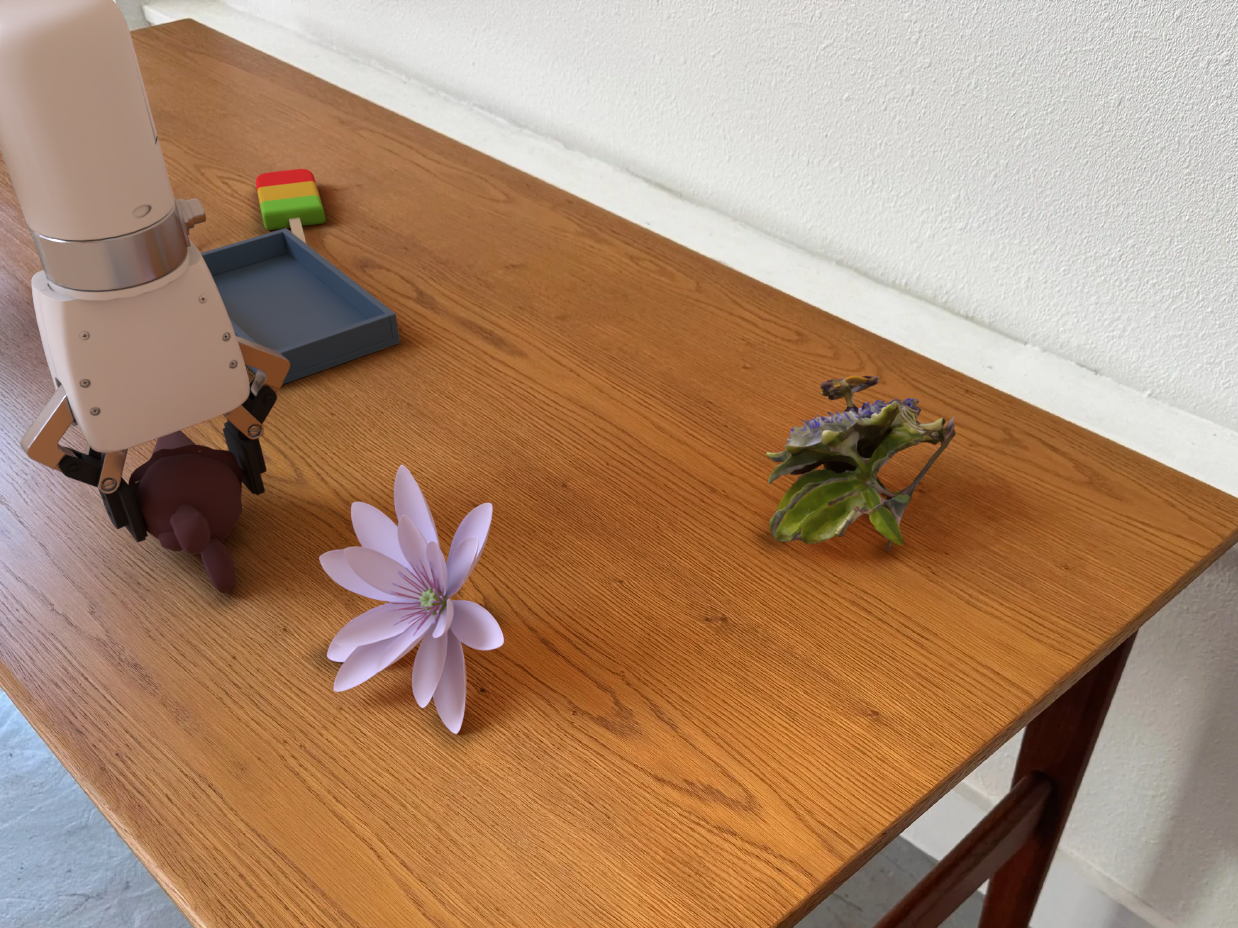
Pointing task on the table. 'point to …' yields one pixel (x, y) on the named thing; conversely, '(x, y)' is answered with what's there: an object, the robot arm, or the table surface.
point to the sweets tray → (298, 303)
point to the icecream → (191, 501)
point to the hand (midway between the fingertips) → (193, 505)
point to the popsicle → (289, 200)
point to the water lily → (412, 599)
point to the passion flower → (850, 465)
